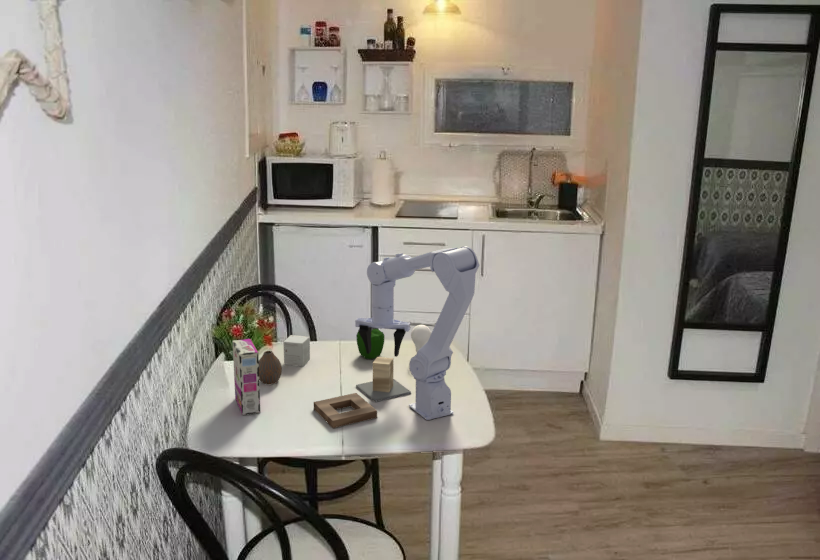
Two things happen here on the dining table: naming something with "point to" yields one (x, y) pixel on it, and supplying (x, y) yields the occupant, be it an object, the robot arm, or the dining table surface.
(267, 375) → the vase
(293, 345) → the product box
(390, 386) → the peg
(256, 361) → the candy bar box
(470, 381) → the dining table surface
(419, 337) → the lightbulb
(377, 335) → the bell pepper
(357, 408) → the holder
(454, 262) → the robot arm
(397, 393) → the mat
